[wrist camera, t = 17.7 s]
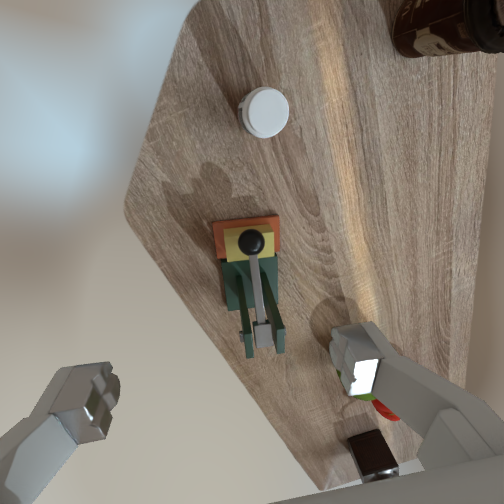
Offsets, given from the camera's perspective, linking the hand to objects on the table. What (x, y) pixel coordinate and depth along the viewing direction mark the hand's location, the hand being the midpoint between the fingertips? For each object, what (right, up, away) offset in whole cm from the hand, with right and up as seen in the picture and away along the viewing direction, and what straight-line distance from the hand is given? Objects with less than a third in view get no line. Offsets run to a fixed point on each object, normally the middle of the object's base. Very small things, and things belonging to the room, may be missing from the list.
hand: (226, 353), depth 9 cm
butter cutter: (+1, -1, +34) cm, 34 cm away
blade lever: (+1, -1, +26) cm, 26 cm away
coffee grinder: (+35, -53, +68) cm, 93 cm away
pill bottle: (+1, +21, +22) cm, 31 cm away
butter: (0, +6, +30) cm, 31 cm away
